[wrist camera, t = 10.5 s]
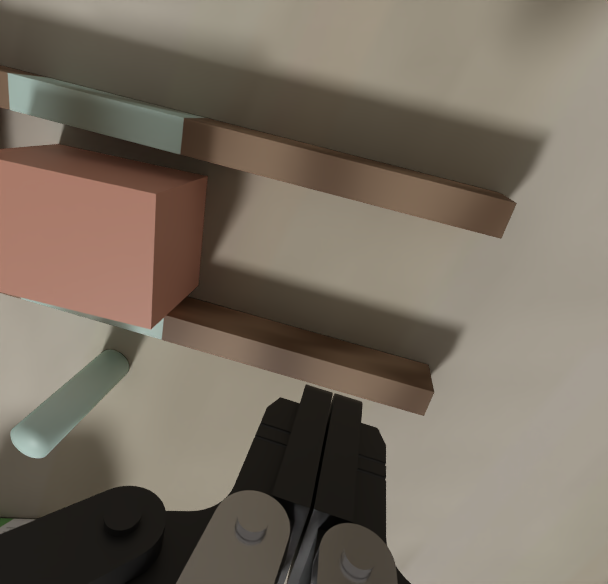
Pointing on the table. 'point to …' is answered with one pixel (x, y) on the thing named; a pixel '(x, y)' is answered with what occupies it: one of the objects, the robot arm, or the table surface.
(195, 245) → the block
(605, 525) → the table surface
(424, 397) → the slot track
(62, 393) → the post
